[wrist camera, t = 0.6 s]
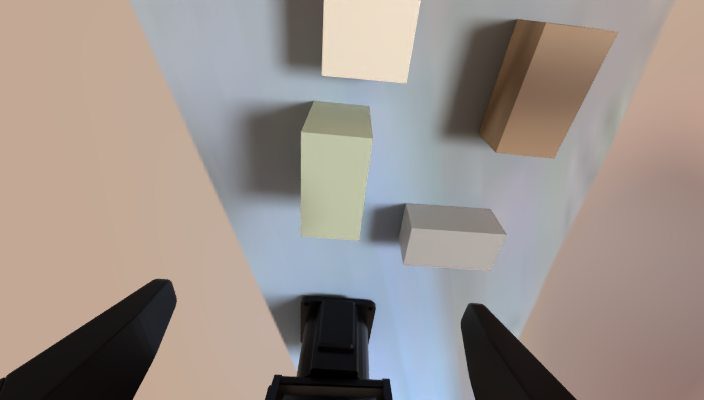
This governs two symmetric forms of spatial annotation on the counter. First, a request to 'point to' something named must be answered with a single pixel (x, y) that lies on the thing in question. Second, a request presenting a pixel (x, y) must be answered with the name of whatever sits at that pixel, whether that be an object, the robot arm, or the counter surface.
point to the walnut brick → (542, 86)
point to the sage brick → (334, 169)
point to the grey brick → (450, 237)
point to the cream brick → (369, 38)
